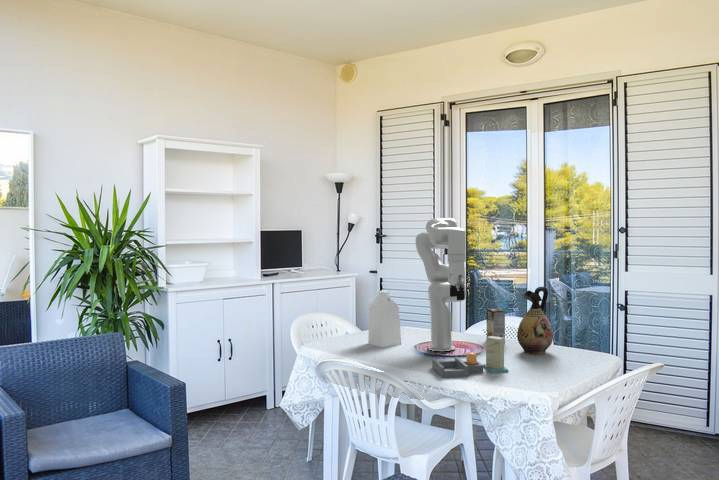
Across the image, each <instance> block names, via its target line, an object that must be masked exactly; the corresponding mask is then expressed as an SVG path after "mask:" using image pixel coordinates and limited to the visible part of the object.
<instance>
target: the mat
mask: <svg viewBox="0 0 719 480" xmlns="http://www.w3.org/2000/svg"><path fill="white" fill-rule="evenodd" d="M482 365H483V369H485V370H487V371H488V372H489V373H491V374H501V373H509V369H508V368H507V367H505V366H504V367H503V368H501V369H496V368H491V367H486V363H483V364H482Z"/></svg>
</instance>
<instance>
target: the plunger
mask: <svg viewBox="0 0 719 480" xmlns="http://www.w3.org/2000/svg"><path fill="white" fill-rule="evenodd" d="M465 357H466V360H465V361H467V365H477V361H478V360H477V359H478V357H477V353H476V352H466V356H465Z"/></svg>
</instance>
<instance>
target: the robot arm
mask: <svg viewBox="0 0 719 480" xmlns="http://www.w3.org/2000/svg"><path fill="white" fill-rule="evenodd" d="M466 233H467V232H466V230H465V229H464V228H461V227H458V225H457V222H456V220H455V219H454V218H451V217H442V218H441V217H440V218H438V217H436V218H431V219H429V220H428V221H427V222H426V224H425V231H424V232H421V233H419V234H417V235H416V236H415V247H416V251H417V254H418V256H419V257H420V259H421V261H422V262H423V267H424V269H425V273H426V274H425V275H426V278H427V280H428V282H429V283H430V285H429V286H428V289H427V293H428V299H429V306H430V307H429V308H430V338H431V339H430V343H431V344H430V345H428V346H427V349H428V348H429V349H430V350H435V351H449V350H453V349H455V350H456V346H454V345H453V344H452V342H453V341H452V340H453V339H452V337H453V336H452V311H451V309H450V308H449V306H448V305H447V304H448V303H461V302H463V301H465V300H466V298H467V289H466V286H465V285H466V272H465V271H466V269H465V262H466V261H467V253H466V252H467V251H466V249H467V247H466V244H467V243H466V241H467V240H466V236H467V235H466ZM438 249H442V250H443V249H447V262H448V263H447V264H445V263H442V259H441V257H440V256H439V254H438V253H437V252H435V251H434V250H438ZM430 350H429V351H430Z"/></svg>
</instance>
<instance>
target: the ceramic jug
mask: <svg viewBox="0 0 719 480" xmlns="http://www.w3.org/2000/svg"><path fill="white" fill-rule="evenodd" d="M540 292H543V295H542V297H541V296H540ZM548 297H549V290H548V288H546V287H545V286H538V287H537V288H535V289H534V291H531V290H529V289H528V290H527V291H525V293H524V294H523V298H524V299H525V300H527V301H528V302H529V301H530V302H531V303H532V304H531V306H530V308H529V310H527V312H526V313H525V314H524V316H523V317H522V319H521V321H520V322H519V325H518V328H517V332H516V335H517V336H516V337H517V338H516V339H517V342H518V344H519V345H520V346H521V348H522V350H523V353H524V354H526V355H532V356H542V355H544V354H545V353H546V351H547V350H549V349H548V348H550V347H551V346H552V343H553V339H554V331H553V327H552V325H551V322H550V320H549V319H548V317H547V316H546V314H545V307H546V304H547V301H548Z"/></svg>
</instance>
